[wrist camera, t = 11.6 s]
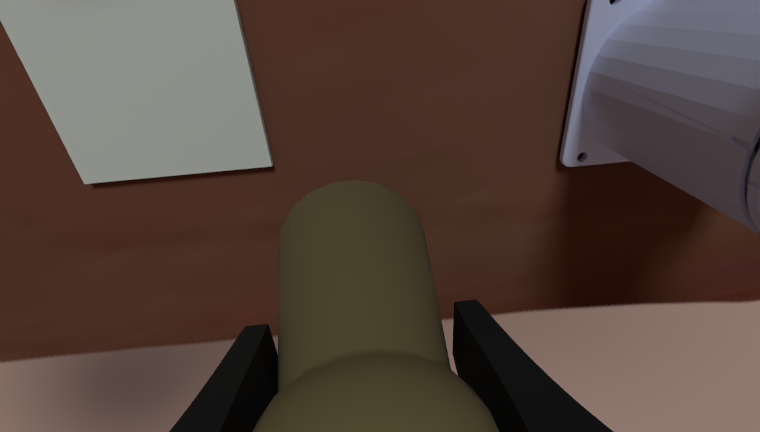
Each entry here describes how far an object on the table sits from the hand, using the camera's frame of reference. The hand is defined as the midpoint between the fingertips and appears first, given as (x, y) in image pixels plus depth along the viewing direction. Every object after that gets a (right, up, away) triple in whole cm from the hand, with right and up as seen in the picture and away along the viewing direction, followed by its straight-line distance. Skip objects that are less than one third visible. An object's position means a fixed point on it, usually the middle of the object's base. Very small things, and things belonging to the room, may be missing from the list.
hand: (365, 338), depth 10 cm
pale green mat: (-10, +10, +6) cm, 15 cm away
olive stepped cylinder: (-1, +2, +5) cm, 6 cm away
